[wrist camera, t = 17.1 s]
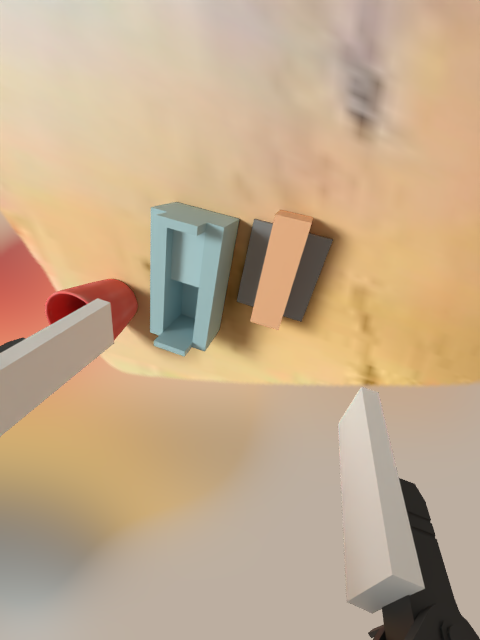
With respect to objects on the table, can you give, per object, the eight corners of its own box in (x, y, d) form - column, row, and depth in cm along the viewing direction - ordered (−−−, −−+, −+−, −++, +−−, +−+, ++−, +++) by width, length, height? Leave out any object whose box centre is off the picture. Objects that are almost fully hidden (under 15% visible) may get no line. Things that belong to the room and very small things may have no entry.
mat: (255, 218, 33) (254, 219, 33) (332, 239, 32) (332, 240, 31) (237, 299, 40) (236, 301, 39) (301, 319, 38) (301, 321, 38)
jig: (176, 201, 35) (138, 209, 28) (239, 218, 34) (216, 231, 27) (170, 313, 45) (140, 341, 38) (219, 330, 43) (198, 361, 36)
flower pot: (155, 296, 44) (116, 325, 36) (133, 335, 50) (96, 367, 42) (103, 256, 43) (51, 276, 35) (87, 300, 49) (39, 326, 41)
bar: (280, 209, 31) (275, 214, 28) (313, 217, 31) (311, 223, 27) (256, 308, 39) (250, 321, 36) (282, 316, 38) (278, 330, 35)
